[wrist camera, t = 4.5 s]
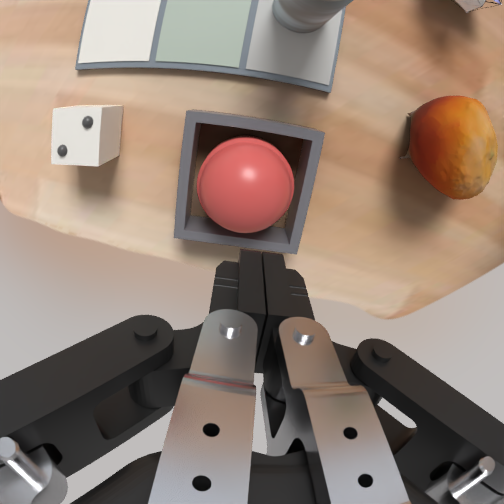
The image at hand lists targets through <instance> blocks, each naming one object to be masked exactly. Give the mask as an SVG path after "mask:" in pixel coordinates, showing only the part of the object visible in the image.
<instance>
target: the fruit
mask: <svg viewBox="0 0 504 504" xmlns="http://www.w3.org/2000/svg"><path fill="white" fill-rule="evenodd" d="M408 114H409V116H410V118H411V127H410V144H409V149H408V151H407V153H406V155H405V156H402V157H399V158H400V159H401V158H411V160H412V162H413V164H414V165H415V166H416V167H417V169H418V170H419V172H420V173H421V175H422V176H423V177H424V178H425V179H426V180H427V181H428V182H429V183H430V184H431V185H432V186H433V187H434V188H436V189H437V190H438V191H440V192H441V193H443V194H445V195H447V196H449V197H450V198H452V199H469V198H472V197H474V196H477V195H478V194H479V193H481V192H482V191H483V190H484V188H485V186H486V185H487V184H488V183H489V180H490V177H491V175H492V172H493V170H494V167H495V165H496V162H497V148H498V145H497V139H496V134H495V131H494V129H493V126H492V123H491V121H490V118H489V116H488V113H487V111H486V109H485V107H484V106H483V105H482V103H481V102H479V101H478V100H476V99H472V98H468V97H464V96H445V97H440V98H437V99H434V100H432V101H430V102H428V103H425V104H423V105H422V106H420V107H419V108H418V109H417V110H416V111H414V112H411V113H408Z"/></svg>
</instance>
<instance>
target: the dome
mask: <svg viewBox="0 0 504 504" xmlns="http://www.w3.org/2000/svg"><path fill="white" fill-rule="evenodd" d="M293 193H294V177H293V173H292V170H291V168H290V165H289V164H288V162H287V160H286V159H285V157H284V156H283V155H282V153H281V152H280V151H279V150H278V149H277V148H276V147H275V146H274V145H273V144H271V143H270V142H268V141H266V140H264V139H262V138H259V137H255V136H248V135H242V136H235V137H232V138H229V139H227V140H224V141H223V142H221V143H219V144H218V145H217V146H216V147H214V148H213V150H212V151H211V152H210V153H209V154H208V156H207V157H206V159H205V161H204V162H203V164H202V166H201V168H200V171H199V174H198V178H197V194H198V198H199V201H200V204H201V206H202V208H203V209H204V211H205V212H206V214H207V215H208V216H209V217H210V218H211V219H212V220H213V221H214V222H216V223H217V224H219V225H220V226H222V227H223V228H225V229H227V230H230V231H233V232H238V233H253V232H258V231H261V230H263V229H266V228H268V227H269V226H271V225H272V224H274V223H275V222H276V221H278V220H279V219H280V218H281V217H282V216H283V214H284V213H285V212H286V211H287V209H288V207H289V205H290V203H291V201H292V197H293Z"/></svg>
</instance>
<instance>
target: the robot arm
mask: <svg viewBox="0 0 504 504" xmlns="http://www.w3.org/2000/svg"><path fill="white" fill-rule="evenodd" d="M254 373H263V377H264V382H263V385H262V388H261V401H262V408H263V416H264V423H265V431H266V438H267V455H265V454H261V453H257V452H253V451H252V440H253V427H254V413H255V400H256V386H255V385H253V382H254ZM382 397H383V398H384V399H386V400H387V401H388V402H389V403H391V404H392V405H393V406H395V407H396V408H397V409H398V410H400V411H401V412H402V413H404V414H405V415H406V416H408V417H409V418H411V419H412V420H413V421H414V422H415V424H416V426H417V427H416V428H408V427H406V426H404V425H403V424H402V423H400V422H399V421H397V420H396V419H395V418H394V417H392V416H391V415H390V414H388V413H387V412H386V411H385V410H383V409H382V408H381V407H379V406H378V405H377V404H378V403H379V401H380V400H381V399H382ZM173 406H175V407H174V410H173V413H172V417H171V420H170V424H169V428H168V431H167V435H166V438H165V442H164V446H163V449H162V451H160V452H156V453H152V454H149V455H146V456H144V457H141V458H138V459H137V460H135V461H133V462H131V463H129V464H128V465H126V466H125V467H123V468H122V469H121V470H119V471H118V472H116V473H115V474H113V475H112V476H111V477H109V478H108V479H106V480H105V481H103V482H102V483H101V484H99V485H98V486H96V487H95V488H93V489H92V490H90V491H89V492H87V493H86V494H84V495H83V496H81V497H80V498H78V499H76V500H75V501H73V502H72V503H70V504H504V424H503V423H502V422H500V421H499V420H498V419H496V418H495V417H493V416H492V415H490V414H489V413H488V412H486V411H485V410H483V409H482V408H481V407H479V406H478V405H476V404H475V403H474V402H472V401H471V400H469V399H468V398H467V397H465V396H464V395H462V394H461V393H460V392H458V391H457V390H455V389H454V388H453V387H451V386H450V385H448V384H447V383H445V382H444V381H443V380H441V379H440V378H438V377H437V376H436V375H434V374H433V373H431V372H430V371H429V370H427V369H426V368H424V367H423V366H421V365H420V364H419V363H417V362H416V361H414V360H413V359H412V358H410V357H409V356H407V355H406V354H405V353H403V352H402V351H400V350H399V349H397V348H396V347H395V346H393V345H392V344H390V343H388V342H386V341H383V340H380V339H366V340H364V341H362V342H361V343H360V344H359V346H358V348H357V349H354V348H350V347H347V346H344V345H340V344H337V343H335V342H333V341H331V339H330V336H329V334H328V332H327V330H326V329H325V328H324V327H323V326H322V325H321V324H320V323H318V322H316V321H315V318H314V315H313V311H312V307H311V304H310V300H309V297H308V293H307V289H306V286H305V282H304V278H303V277H302V276H301V275H300V274H299V273H298V272H297V271H296V270H293V269H286V267H285V262H284V257H283V255H282V254H275V253H268V252H262V253H261V252H260V251H252V250H245V249H240V253H239V260H238V262H230V261H223V262H222V263H221V264H220V265H219V266H218V267H217V268H216V274H215V280H214V286H213V292H212V298H211V304H210V311H209V315H208V316H207V317H206V318H205V320H204V322H203V323H202V324H200V325H198V326H196V327H194V328H190V329H184V330H173V329H172V327H171V325H170V324H169V323H168V322H167V321H165V320H164V319H162V318H160V317H157V316H152V315H138V316H134V317H131V318H129V319H127V320H125V321H123V322H121V323H119V324H117V325H115V326H113V327H110V328H108V329H106V330H104V331H102V332H100V333H98V334H96V335H94V336H92V337H90V338H88V339H86V340H84V341H81V342H79V343H77V344H75V345H73V346H71V347H69V348H67V349H65V350H63V351H61V352H59V353H57V354H54V355H52V356H50V357H48V358H46V359H44V360H42V361H40V362H37V363H35V364H33V365H31V366H29V367H27V368H25V369H23V370H21V371H19V372H16V373H15V374H12V375H10V376H8V377H6V378H4V379H2V380H0V504H60V503H61V502H62V501H63V500H64V498H65V496H66V494H67V488H68V486H67V480H66V478H67V477H68V476H70V475H72V474H74V473H75V472H77V471H79V470H81V469H82V468H84V467H86V466H87V465H89V464H91V463H92V462H94V461H95V460H97V459H99V458H100V457H102V456H103V455H105V454H107V453H108V452H110V451H111V450H113V449H114V448H116V447H118V446H119V445H121V444H122V443H124V442H125V441H127V440H129V439H130V438H131V437H133V436H135V435H136V434H137V433H139V432H140V431H142V430H143V429H145V428H147V427H148V426H149V425H151V424H152V423H154V422H155V421H157V420H158V419H160V418H161V417H163V416H164V415H165V414H167V413H168V412H169V411H170V410H171V409H172V408H173Z"/></svg>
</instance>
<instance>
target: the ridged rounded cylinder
mask: <svg viewBox="0 0 504 504" xmlns="http://www.w3.org/2000/svg"><path fill="white" fill-rule="evenodd" d="M352 1H353V0H274V1H273V5H272V10H273V14H274V16H275V18H276V20H277V21H278V22H279V23H280V24H281V25H282V26H283V27H284V28H286V29H288V30H290V31H293V32H296V33H310V32H314V31H316V30H318V29H320V28H321V27H322V26H323V25H324V24H325V23H327V22H328V21H329V20H330V19H331V18H332V17H334V16H335V15H336V14H337V13H338V12H339V11H341V10H342V9H343V8H344V7H346V6H347V5H348V4H349V3H350V2H352Z"/></svg>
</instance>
